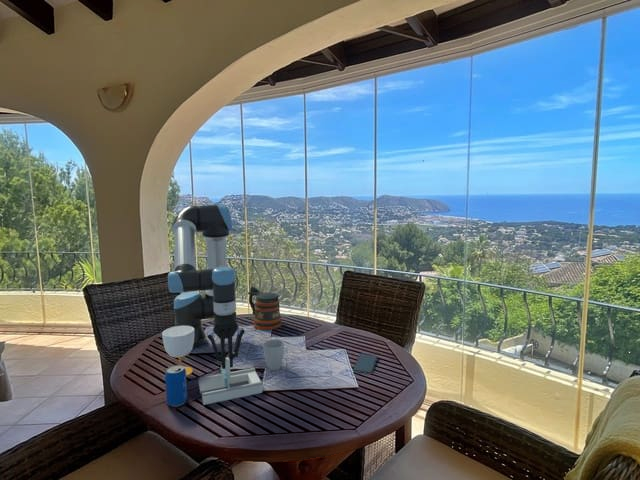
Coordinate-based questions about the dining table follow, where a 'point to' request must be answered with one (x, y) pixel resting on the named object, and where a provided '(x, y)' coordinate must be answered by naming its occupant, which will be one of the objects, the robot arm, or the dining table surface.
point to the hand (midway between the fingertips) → (227, 376)
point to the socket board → (235, 387)
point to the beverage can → (176, 385)
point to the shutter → (213, 383)
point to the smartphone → (365, 363)
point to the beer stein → (265, 309)
